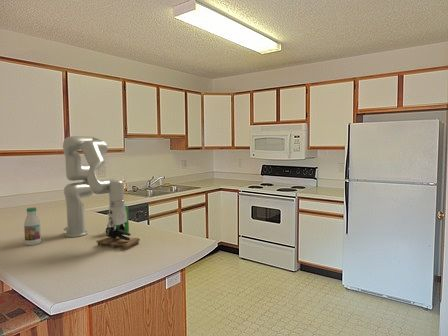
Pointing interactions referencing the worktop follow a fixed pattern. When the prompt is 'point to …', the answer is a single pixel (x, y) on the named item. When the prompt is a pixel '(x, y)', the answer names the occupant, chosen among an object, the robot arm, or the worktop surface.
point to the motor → (126, 222)
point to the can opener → (118, 233)
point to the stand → (118, 242)
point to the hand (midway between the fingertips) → (117, 235)
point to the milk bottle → (32, 228)
